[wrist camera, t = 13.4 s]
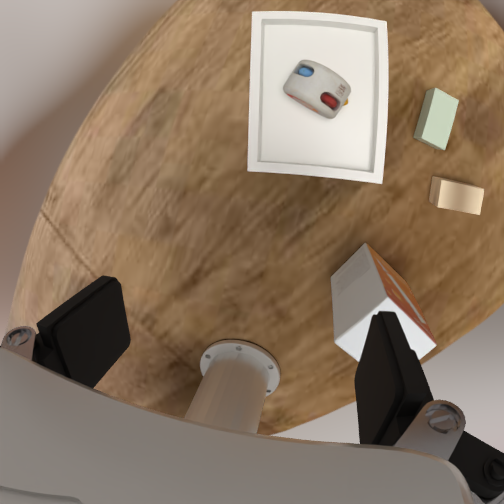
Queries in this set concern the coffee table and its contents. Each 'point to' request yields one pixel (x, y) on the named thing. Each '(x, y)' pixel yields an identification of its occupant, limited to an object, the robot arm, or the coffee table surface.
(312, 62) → the roller toy
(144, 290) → the coffee table surface
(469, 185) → the maple block
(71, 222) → the coffee table surface
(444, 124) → the sage block
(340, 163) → the tray
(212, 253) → the coffee table surface
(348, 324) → the small box
